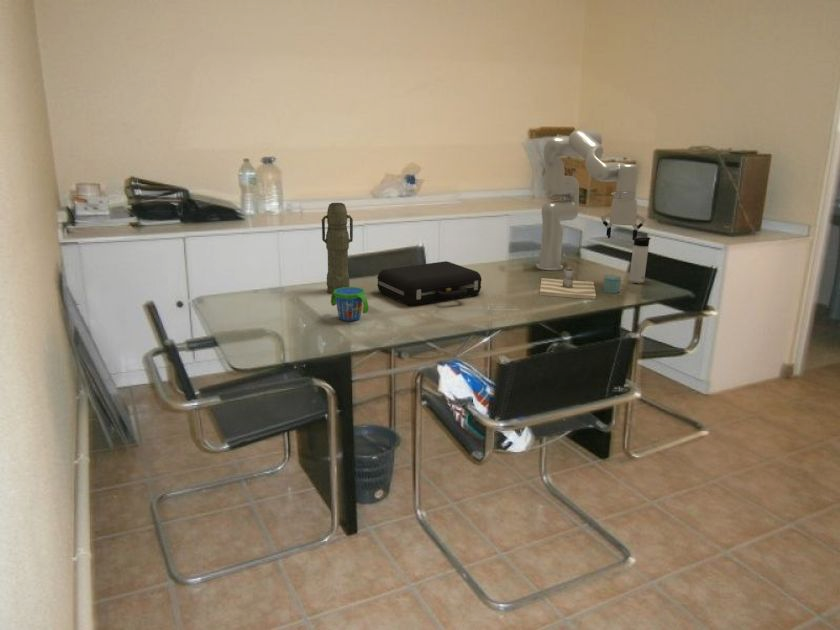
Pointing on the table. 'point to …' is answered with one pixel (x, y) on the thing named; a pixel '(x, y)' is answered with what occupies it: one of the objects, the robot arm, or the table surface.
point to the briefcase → (429, 283)
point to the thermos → (337, 245)
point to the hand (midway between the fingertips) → (621, 238)
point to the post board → (567, 287)
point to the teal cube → (612, 284)
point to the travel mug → (639, 260)
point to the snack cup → (349, 302)
